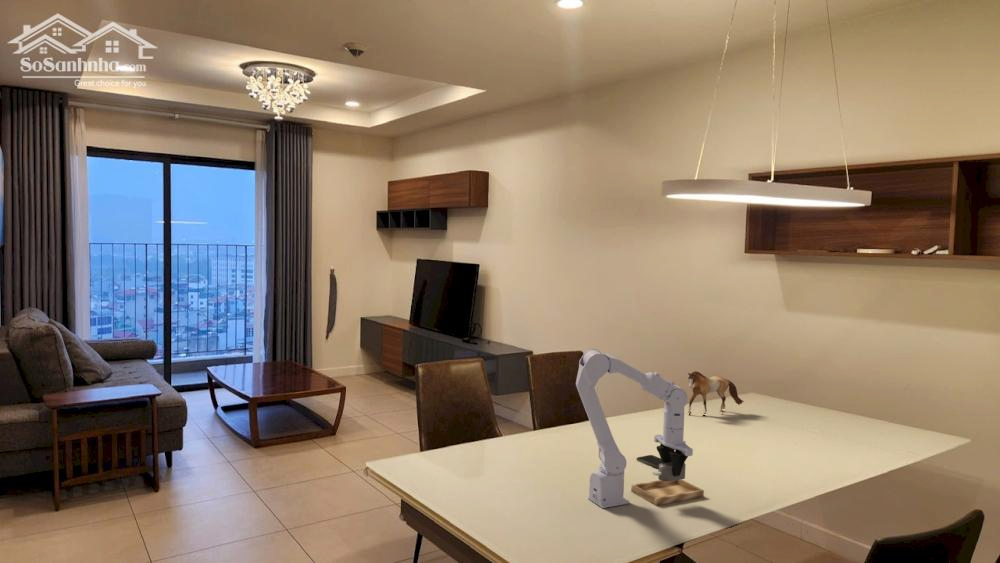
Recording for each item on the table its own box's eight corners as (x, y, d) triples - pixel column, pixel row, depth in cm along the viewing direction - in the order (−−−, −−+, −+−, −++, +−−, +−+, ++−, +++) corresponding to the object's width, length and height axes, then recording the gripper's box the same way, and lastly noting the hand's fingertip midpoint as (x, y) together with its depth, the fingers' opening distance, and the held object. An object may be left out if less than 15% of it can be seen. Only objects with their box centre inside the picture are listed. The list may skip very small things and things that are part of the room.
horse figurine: (688, 418, 275) (690, 372, 274) (677, 414, 282) (679, 369, 281) (744, 414, 286) (746, 369, 285) (732, 409, 294) (734, 366, 293)
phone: (667, 471, 205) (635, 457, 218) (667, 474, 205) (635, 461, 218) (684, 467, 209) (651, 454, 222) (683, 470, 209) (651, 457, 222)
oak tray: (656, 505, 178) (656, 498, 178) (631, 491, 188) (631, 484, 188) (703, 497, 185) (703, 490, 185) (677, 483, 196) (677, 477, 196)
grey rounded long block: (658, 482, 177) (658, 469, 177) (650, 478, 180) (650, 465, 180) (687, 478, 181) (688, 464, 181) (679, 474, 184) (679, 460, 184)
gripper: (701, 432, 175) (700, 479, 176) (668, 419, 189) (666, 463, 189) (682, 434, 172) (680, 483, 173) (649, 421, 186) (647, 466, 186)
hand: (671, 473), depth 181 cm, fingers closed on grey rounded long block, 4 cm apart
